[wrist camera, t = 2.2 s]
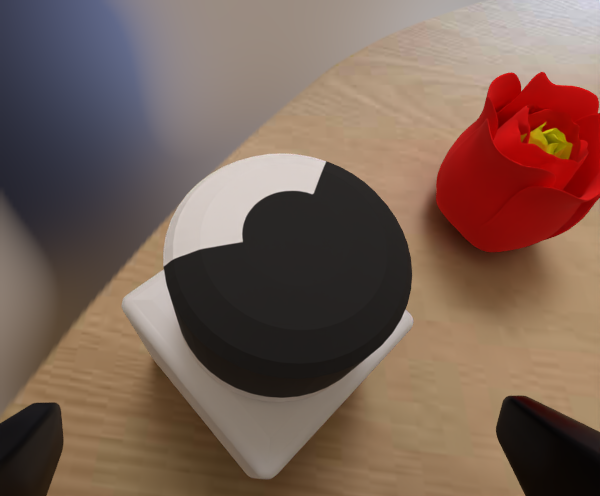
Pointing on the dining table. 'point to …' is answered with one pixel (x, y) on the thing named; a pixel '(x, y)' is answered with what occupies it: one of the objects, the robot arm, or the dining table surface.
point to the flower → (523, 165)
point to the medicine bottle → (274, 301)
